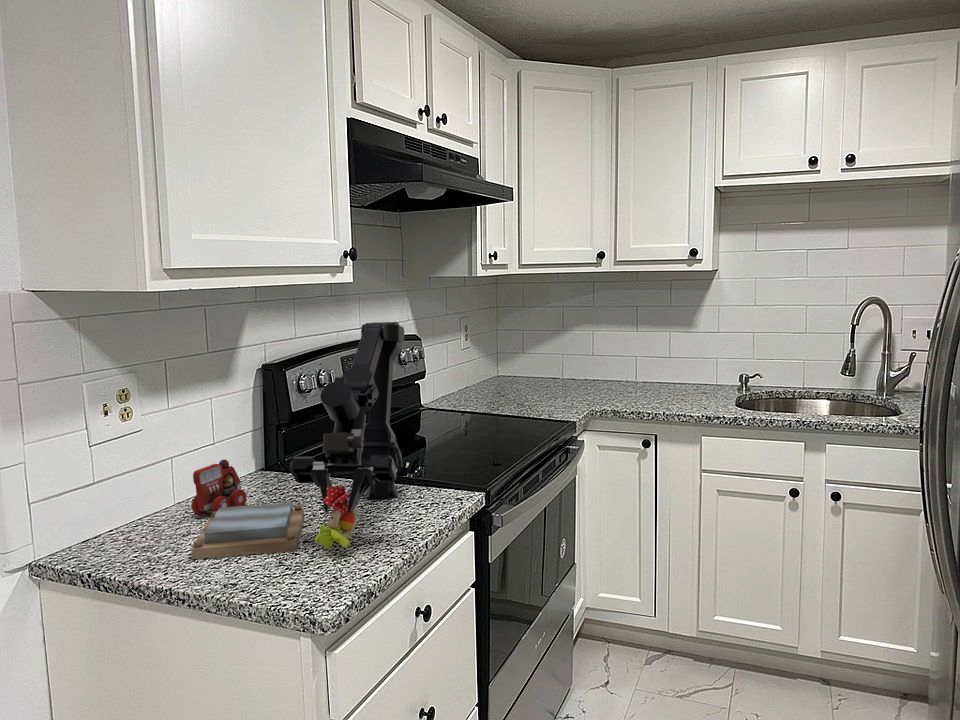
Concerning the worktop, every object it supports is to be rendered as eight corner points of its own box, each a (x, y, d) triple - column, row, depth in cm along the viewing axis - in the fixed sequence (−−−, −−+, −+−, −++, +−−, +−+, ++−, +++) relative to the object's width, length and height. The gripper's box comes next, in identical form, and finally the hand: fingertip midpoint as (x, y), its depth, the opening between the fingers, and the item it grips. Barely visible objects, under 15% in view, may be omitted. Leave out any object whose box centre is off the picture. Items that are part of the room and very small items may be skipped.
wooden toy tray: (212, 524, 148) (210, 505, 148) (304, 517, 151) (303, 498, 150) (192, 560, 130) (190, 538, 130) (296, 550, 133) (295, 529, 133)
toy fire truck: (253, 503, 161) (249, 456, 160) (212, 522, 150) (208, 472, 148) (227, 499, 164) (224, 454, 162) (186, 518, 153) (182, 469, 151)
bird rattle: (334, 550, 137) (306, 547, 129) (340, 489, 140) (313, 483, 132) (364, 551, 135) (338, 548, 127) (369, 489, 138) (344, 483, 130)
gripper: (288, 414, 134) (273, 492, 125) (390, 412, 133) (382, 490, 124) (304, 445, 143) (290, 520, 134) (399, 443, 142) (392, 518, 133)
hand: (338, 512), depth 131 cm, fingers closed on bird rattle, 4 cm apart
